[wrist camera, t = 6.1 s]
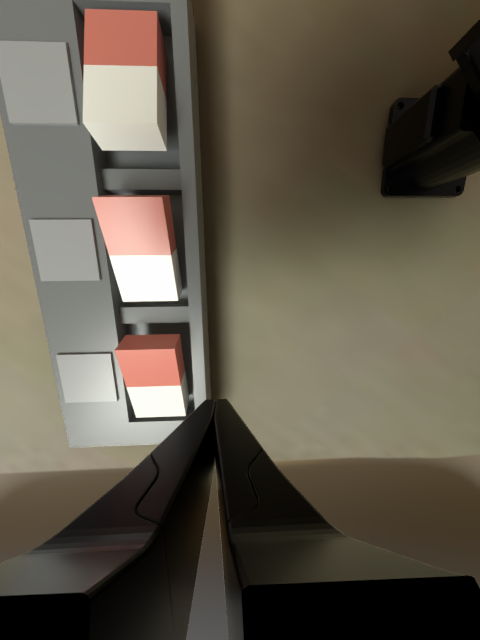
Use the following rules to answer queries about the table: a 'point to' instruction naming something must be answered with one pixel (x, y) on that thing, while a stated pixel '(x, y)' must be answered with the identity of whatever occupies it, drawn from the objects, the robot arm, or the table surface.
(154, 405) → the rocker
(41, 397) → the table surface
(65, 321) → the power board
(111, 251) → the block
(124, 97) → the rocker
